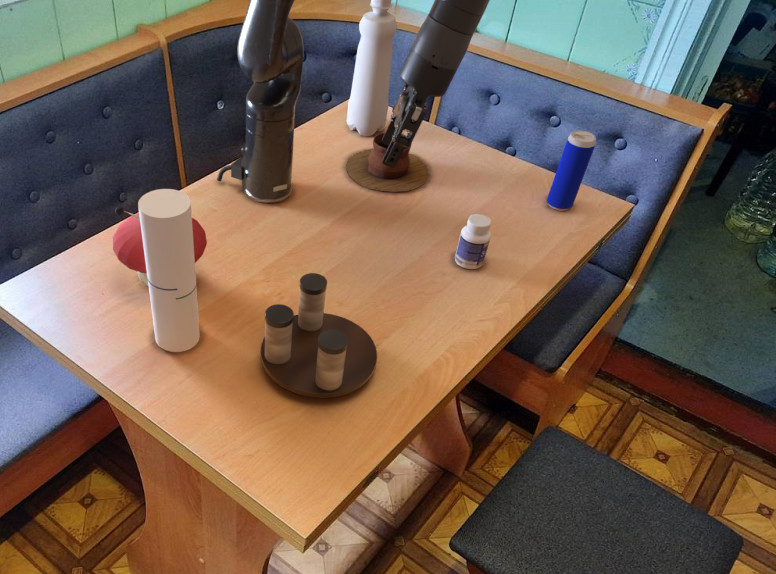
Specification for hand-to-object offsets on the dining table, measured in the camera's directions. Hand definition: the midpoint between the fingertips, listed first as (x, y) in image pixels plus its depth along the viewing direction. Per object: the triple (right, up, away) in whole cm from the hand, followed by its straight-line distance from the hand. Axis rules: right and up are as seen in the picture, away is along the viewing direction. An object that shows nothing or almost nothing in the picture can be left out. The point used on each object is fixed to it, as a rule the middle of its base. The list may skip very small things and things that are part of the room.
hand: (387, 154), depth 116 cm
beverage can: (+40, -1, +32) cm, 51 cm away
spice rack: (-11, -32, -3) cm, 34 cm away
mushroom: (-38, -18, +12) cm, 43 cm away
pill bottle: (+18, -14, +18) cm, 29 cm away
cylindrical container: (-34, -29, +2) cm, 45 cm away
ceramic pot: (+6, +8, +39) cm, 40 cm away
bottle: (+3, +22, +52) cm, 56 cm away
